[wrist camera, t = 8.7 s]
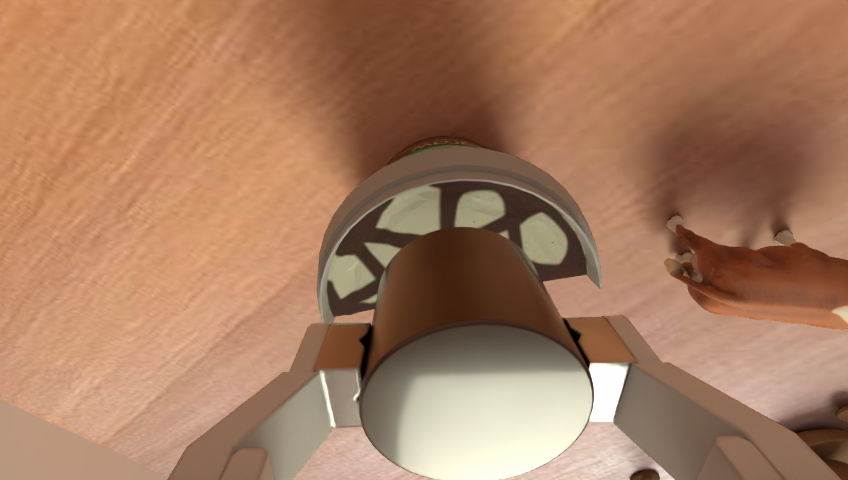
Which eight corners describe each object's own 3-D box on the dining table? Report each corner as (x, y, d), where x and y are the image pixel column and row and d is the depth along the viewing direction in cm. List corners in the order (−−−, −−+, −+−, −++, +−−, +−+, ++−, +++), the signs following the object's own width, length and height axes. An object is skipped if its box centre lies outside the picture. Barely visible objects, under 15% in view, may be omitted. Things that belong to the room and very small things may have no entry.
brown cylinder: (370, 228, 10) (343, 325, 6) (548, 222, 10) (619, 317, 6) (384, 360, 12) (369, 486, 9) (530, 356, 12) (575, 482, 9)
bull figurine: (796, 291, 27) (935, 381, 20) (626, 256, 25) (708, 339, 18) (839, 238, 25) (1013, 316, 18) (658, 197, 23) (765, 264, 16)
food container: (535, 94, 21) (623, 126, 12) (541, 196, 23) (616, 286, 14) (323, 138, 22) (254, 199, 13) (353, 231, 24) (313, 335, 15)
